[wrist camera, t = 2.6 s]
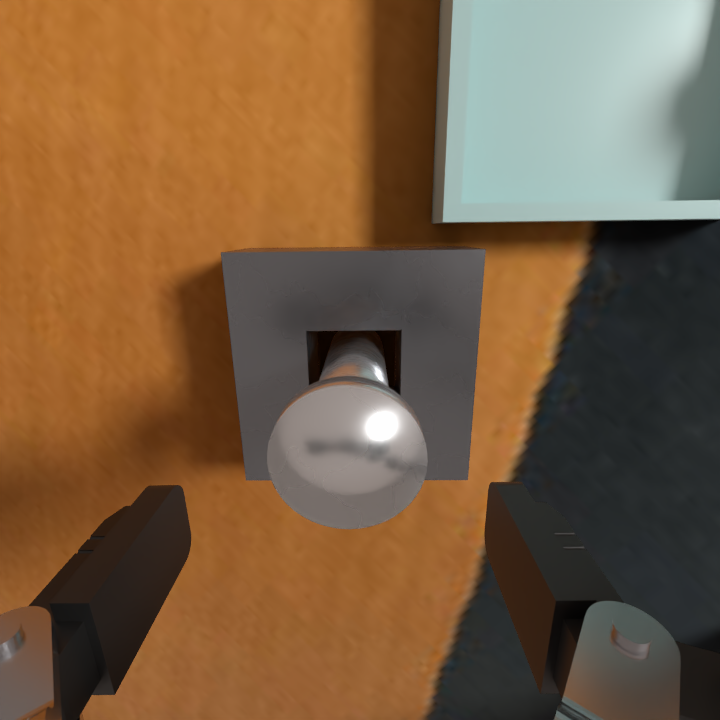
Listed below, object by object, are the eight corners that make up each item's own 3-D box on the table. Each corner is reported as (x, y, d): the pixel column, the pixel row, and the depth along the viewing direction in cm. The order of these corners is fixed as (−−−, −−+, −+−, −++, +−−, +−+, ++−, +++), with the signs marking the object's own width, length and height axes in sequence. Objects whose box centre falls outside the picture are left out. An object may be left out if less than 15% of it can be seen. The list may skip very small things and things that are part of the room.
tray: (814, -168, 17) (920, -263, 14) (721, 219, 22) (784, 217, 19) (445, -157, 18) (464, -247, 14) (431, 223, 22) (442, 222, 19)
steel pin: (398, 308, 24) (430, 387, 12) (397, 388, 25) (424, 529, 13) (313, 309, 24) (260, 387, 12) (317, 389, 25) (273, 528, 14)
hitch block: (463, 245, 23) (485, 249, 18) (451, 439, 26) (467, 480, 22) (248, 248, 23) (220, 252, 19) (265, 439, 27) (246, 480, 22)
